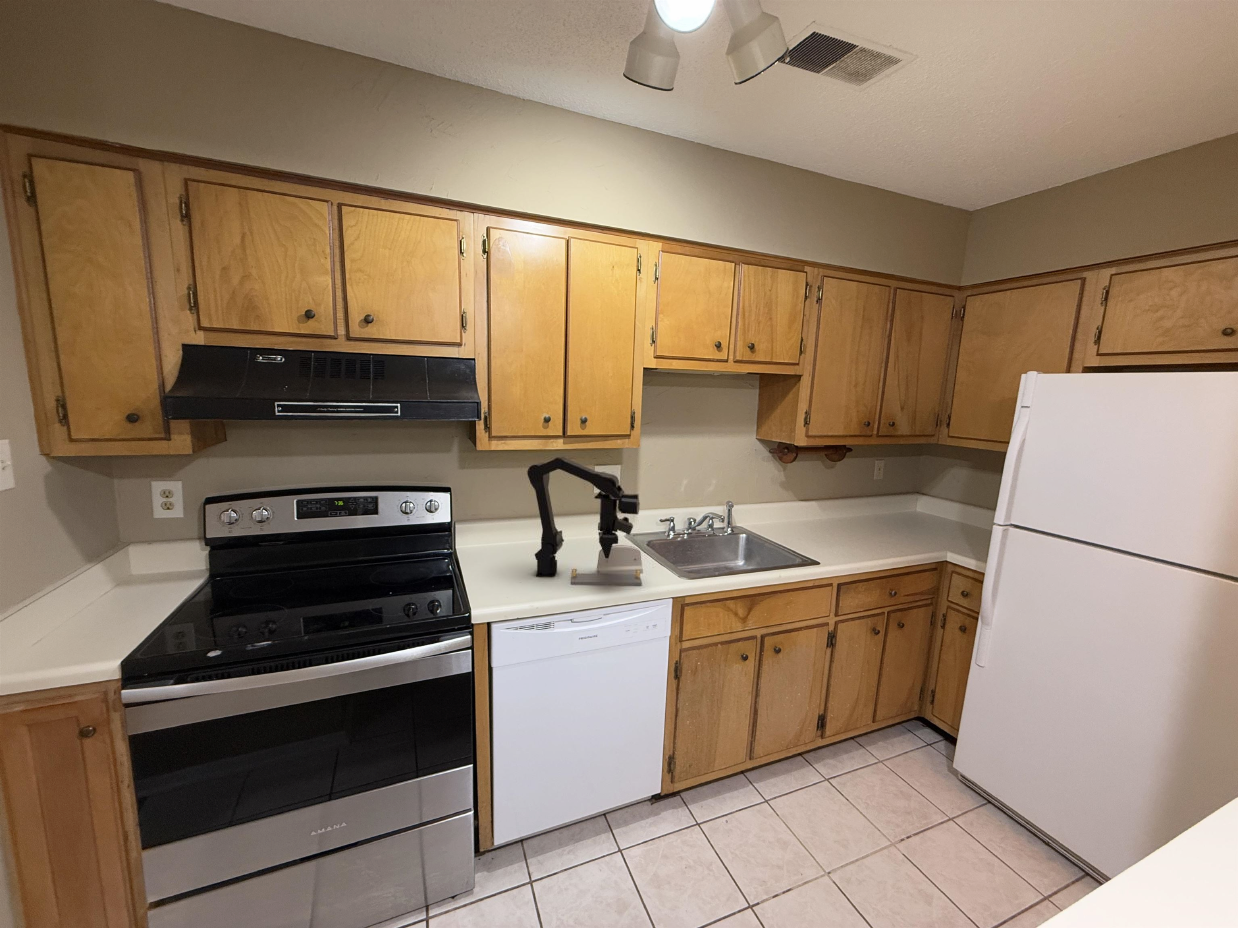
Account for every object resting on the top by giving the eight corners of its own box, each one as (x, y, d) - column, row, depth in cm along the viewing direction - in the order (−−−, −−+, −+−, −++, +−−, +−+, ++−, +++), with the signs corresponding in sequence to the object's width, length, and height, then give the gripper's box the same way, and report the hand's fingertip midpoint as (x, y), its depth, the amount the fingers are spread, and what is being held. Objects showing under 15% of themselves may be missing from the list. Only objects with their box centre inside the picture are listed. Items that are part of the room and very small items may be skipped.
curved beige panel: (598, 575, 179) (598, 547, 178) (596, 572, 183) (596, 545, 183) (643, 573, 182) (644, 546, 182) (640, 570, 187) (640, 543, 187)
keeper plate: (570, 585, 169) (571, 573, 168) (571, 576, 177) (571, 565, 176) (641, 585, 171) (642, 574, 170) (639, 577, 178) (639, 566, 178)
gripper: (634, 519, 161) (632, 566, 164) (629, 506, 180) (627, 548, 182) (600, 518, 161) (598, 565, 163) (598, 505, 179) (597, 547, 181)
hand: (606, 556), depth 172 cm, fingers open, 4 cm apart
